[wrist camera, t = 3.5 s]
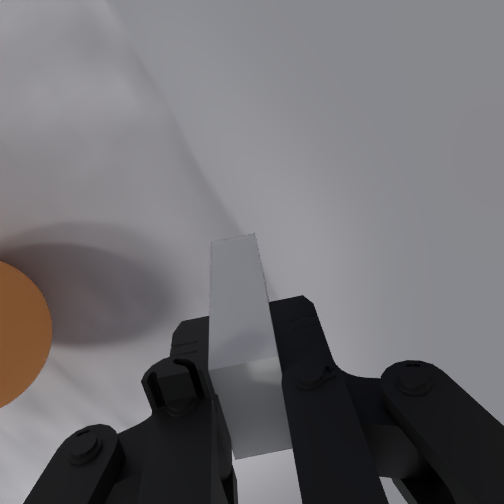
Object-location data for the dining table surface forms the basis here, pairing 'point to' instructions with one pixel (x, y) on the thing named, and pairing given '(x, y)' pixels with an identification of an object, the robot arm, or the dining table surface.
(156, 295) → the dining table surface
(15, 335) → the ball
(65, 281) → the dining table surface
